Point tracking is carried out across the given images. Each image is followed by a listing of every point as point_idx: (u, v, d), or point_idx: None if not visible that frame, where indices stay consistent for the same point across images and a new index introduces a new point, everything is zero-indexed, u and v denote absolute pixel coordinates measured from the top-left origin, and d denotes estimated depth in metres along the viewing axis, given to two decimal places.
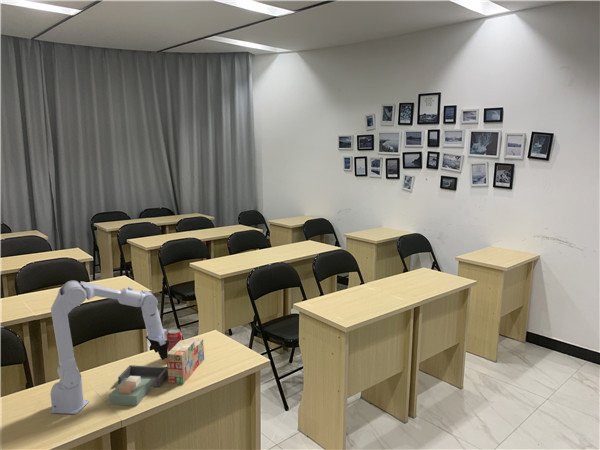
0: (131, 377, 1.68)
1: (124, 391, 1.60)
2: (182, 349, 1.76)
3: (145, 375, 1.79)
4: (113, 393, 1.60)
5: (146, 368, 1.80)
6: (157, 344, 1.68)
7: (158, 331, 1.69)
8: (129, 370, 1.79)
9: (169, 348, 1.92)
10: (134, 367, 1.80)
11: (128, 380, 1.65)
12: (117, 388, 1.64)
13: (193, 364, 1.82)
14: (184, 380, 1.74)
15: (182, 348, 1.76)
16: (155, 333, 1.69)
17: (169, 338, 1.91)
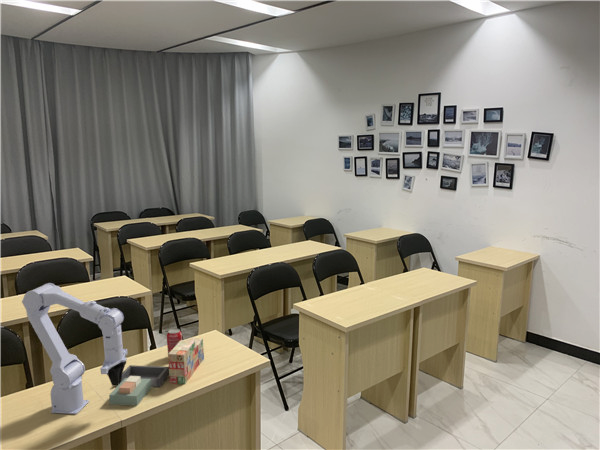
0: (131, 377, 1.68)
1: (124, 391, 1.60)
2: (183, 348, 1.76)
3: (145, 375, 1.79)
4: (113, 393, 1.60)
5: (146, 368, 1.80)
6: None
7: (111, 357, 1.50)
8: (129, 370, 1.79)
9: (169, 348, 1.92)
10: (134, 367, 1.80)
11: (128, 380, 1.65)
12: (117, 388, 1.64)
13: (194, 364, 1.83)
14: (186, 380, 1.74)
15: (183, 348, 1.76)
16: (107, 358, 1.50)
17: (169, 338, 1.91)
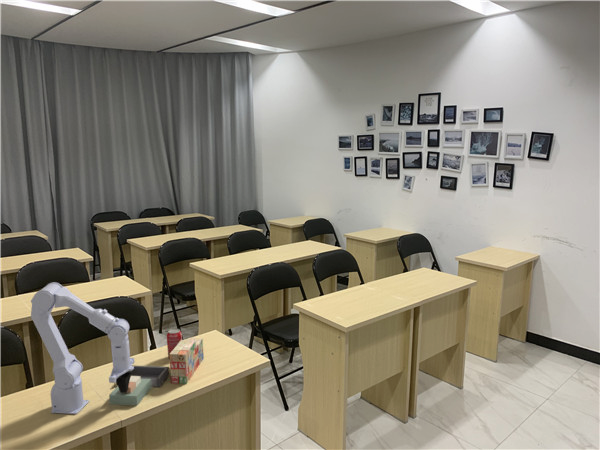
0: (131, 377, 1.68)
1: None
2: (184, 348, 1.76)
3: (145, 375, 1.79)
4: (113, 393, 1.60)
5: (146, 368, 1.80)
6: None
7: (119, 366, 1.55)
8: None
9: (169, 348, 1.92)
10: (134, 367, 1.80)
11: None
12: (117, 388, 1.64)
13: (194, 363, 1.83)
14: (187, 379, 1.74)
15: (184, 348, 1.76)
16: (115, 367, 1.56)
17: (169, 338, 1.91)
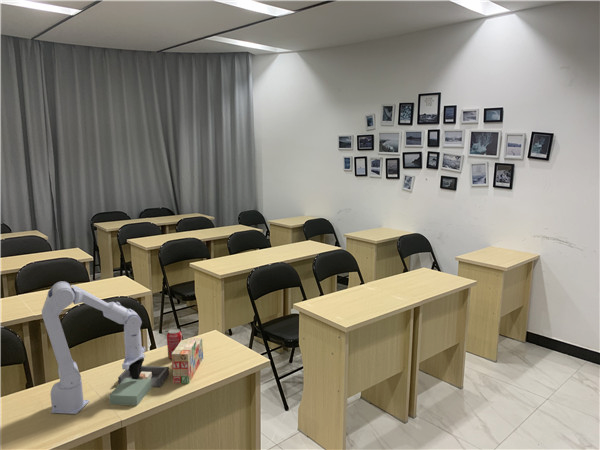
0: None
1: None
2: (186, 348, 1.76)
3: None
4: (113, 393, 1.60)
5: (146, 368, 1.80)
6: None
7: (131, 354, 1.64)
8: None
9: (169, 348, 1.92)
10: None
11: None
12: (117, 388, 1.64)
13: (195, 363, 1.83)
14: (189, 379, 1.75)
15: (186, 347, 1.77)
16: (128, 355, 1.65)
17: (169, 338, 1.91)
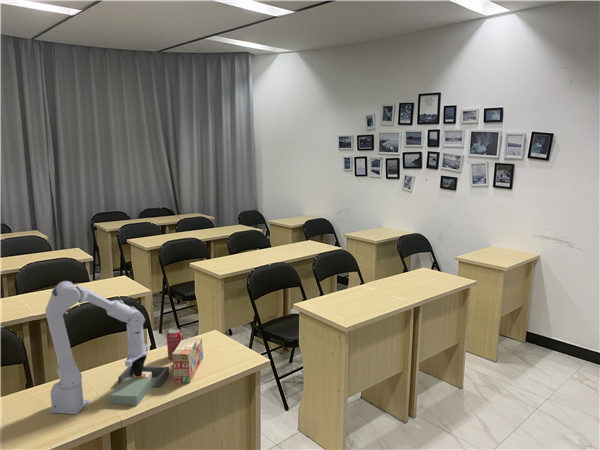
0: None
1: None
2: (186, 348, 1.76)
3: None
4: (113, 393, 1.60)
5: (146, 368, 1.80)
6: None
7: (134, 351, 1.67)
8: (129, 370, 1.79)
9: (169, 348, 1.92)
10: None
11: None
12: (117, 388, 1.64)
13: (196, 363, 1.83)
14: (190, 379, 1.75)
15: (186, 347, 1.77)
16: (131, 352, 1.67)
17: (169, 338, 1.91)
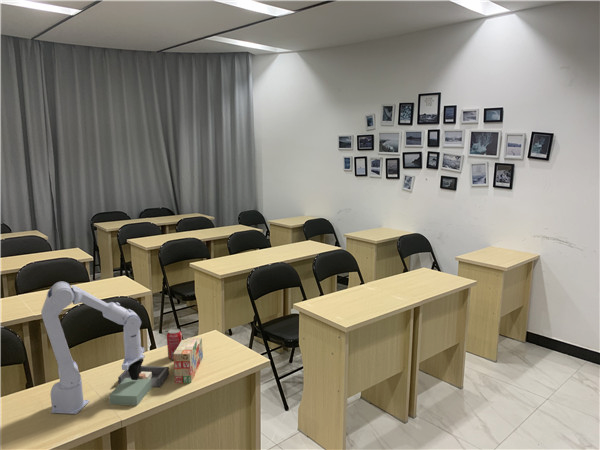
0: None
1: None
2: (187, 348, 1.76)
3: None
4: (113, 393, 1.60)
5: (146, 368, 1.80)
6: None
7: (131, 354, 1.64)
8: None
9: (169, 348, 1.92)
10: None
11: None
12: (117, 388, 1.64)
13: (196, 363, 1.84)
14: (191, 379, 1.75)
15: (187, 347, 1.77)
16: (127, 355, 1.64)
17: (169, 338, 1.91)
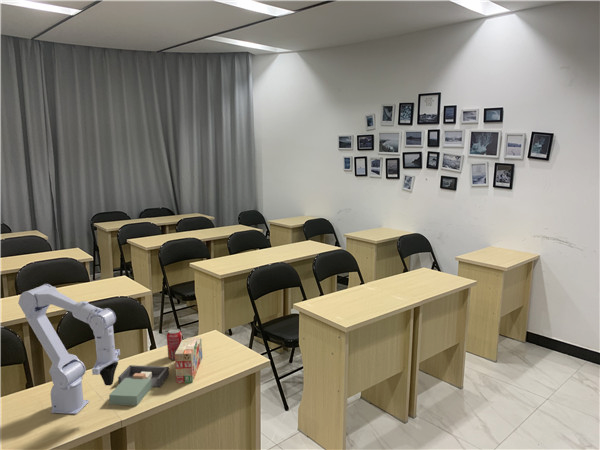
0: None
1: (138, 375, 1.72)
2: (188, 347, 1.77)
3: None
4: (113, 393, 1.60)
5: (146, 368, 1.80)
6: None
7: (103, 357, 1.49)
8: (129, 370, 1.79)
9: (169, 348, 1.92)
10: (134, 367, 1.80)
11: None
12: (117, 388, 1.64)
13: (197, 362, 1.84)
14: (193, 378, 1.75)
15: (188, 347, 1.77)
16: (99, 358, 1.49)
17: (169, 338, 1.91)
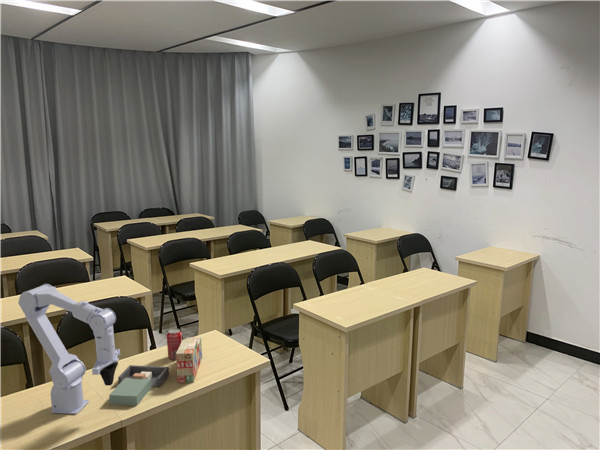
0: None
1: (138, 375, 1.72)
2: (189, 347, 1.77)
3: None
4: (113, 393, 1.60)
5: (146, 368, 1.80)
6: None
7: (103, 357, 1.49)
8: (129, 370, 1.79)
9: (169, 348, 1.92)
10: (134, 367, 1.80)
11: None
12: (117, 388, 1.64)
13: (197, 362, 1.84)
14: (194, 378, 1.76)
15: (189, 347, 1.77)
16: (99, 358, 1.49)
17: (169, 338, 1.91)
